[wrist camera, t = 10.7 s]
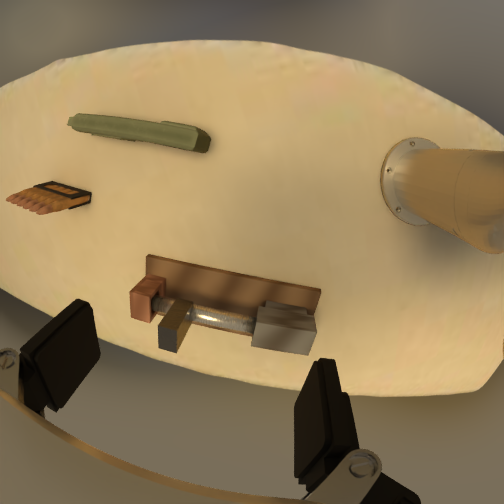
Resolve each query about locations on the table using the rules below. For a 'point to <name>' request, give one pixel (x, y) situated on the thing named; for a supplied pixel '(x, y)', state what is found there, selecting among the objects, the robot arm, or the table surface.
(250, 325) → the tube
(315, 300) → the tube stand
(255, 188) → the table surface
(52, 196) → the ammunition clip
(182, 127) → the handheld radio
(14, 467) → the robot arm
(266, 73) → the table surface
